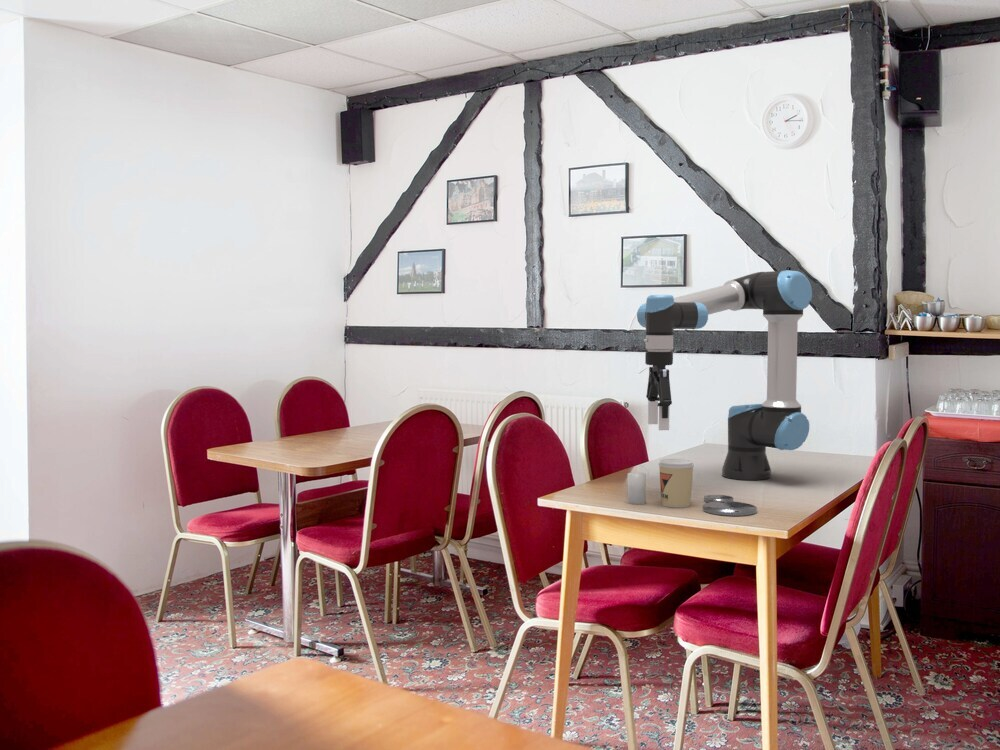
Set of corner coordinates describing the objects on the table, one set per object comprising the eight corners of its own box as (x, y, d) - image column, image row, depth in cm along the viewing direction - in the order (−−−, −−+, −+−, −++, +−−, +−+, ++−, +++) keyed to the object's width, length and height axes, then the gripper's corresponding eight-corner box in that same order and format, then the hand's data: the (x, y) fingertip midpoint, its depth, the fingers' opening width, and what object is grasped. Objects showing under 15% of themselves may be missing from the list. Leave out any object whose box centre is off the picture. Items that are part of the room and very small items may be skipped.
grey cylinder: (643, 500, 259) (643, 472, 258) (647, 504, 254) (647, 475, 253) (625, 500, 258) (625, 472, 258) (629, 504, 253) (629, 475, 253)
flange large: (745, 504, 252) (745, 500, 252) (764, 515, 238) (764, 511, 238) (695, 505, 251) (695, 501, 251) (712, 517, 237) (712, 513, 237)
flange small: (712, 497, 262) (712, 493, 262) (738, 500, 257) (738, 497, 257) (698, 501, 256) (698, 498, 256) (725, 505, 251) (725, 501, 251)
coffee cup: (654, 501, 257) (655, 458, 256) (687, 500, 258) (688, 458, 257) (663, 508, 248) (663, 464, 247) (697, 507, 248) (698, 463, 248)
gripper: (636, 349, 267) (635, 421, 269) (655, 352, 242) (654, 432, 244) (662, 349, 268) (661, 421, 269) (683, 352, 243) (682, 432, 244)
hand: (658, 427), depth 256 cm, fingers open, 13 cm apart
